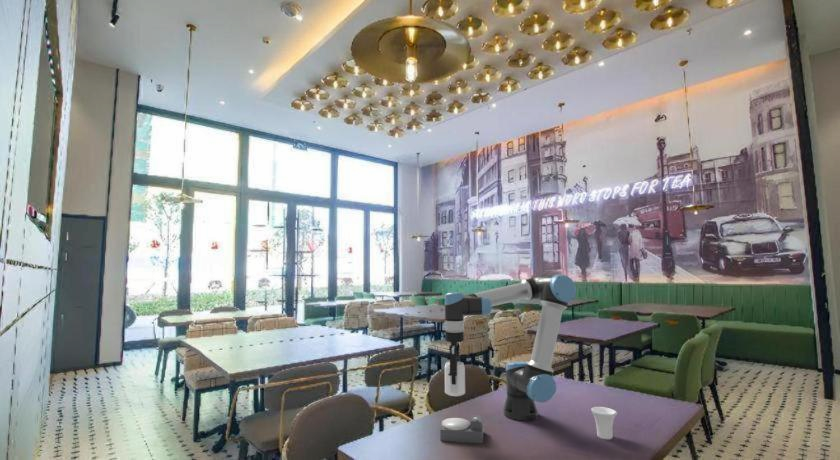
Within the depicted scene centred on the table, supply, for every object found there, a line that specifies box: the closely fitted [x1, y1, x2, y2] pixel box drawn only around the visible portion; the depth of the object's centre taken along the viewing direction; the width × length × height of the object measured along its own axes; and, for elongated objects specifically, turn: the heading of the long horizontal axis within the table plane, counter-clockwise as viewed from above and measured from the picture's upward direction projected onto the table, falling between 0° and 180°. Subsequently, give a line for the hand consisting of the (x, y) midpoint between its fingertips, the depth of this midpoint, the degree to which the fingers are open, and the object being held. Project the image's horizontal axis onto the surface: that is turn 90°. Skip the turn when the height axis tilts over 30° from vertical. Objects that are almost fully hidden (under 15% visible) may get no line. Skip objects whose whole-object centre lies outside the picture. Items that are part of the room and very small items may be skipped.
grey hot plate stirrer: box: [439, 414, 484, 444], centre depth 155 cm, size 16×11×8 cm
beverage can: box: [444, 360, 466, 397], centre depth 157 cm, size 8×8×12 cm
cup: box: [591, 406, 618, 440], centre depth 153 cm, size 9×9×10 cm
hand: (455, 389), depth 157 cm, fingers closed on beverage can, 8 cm apart
